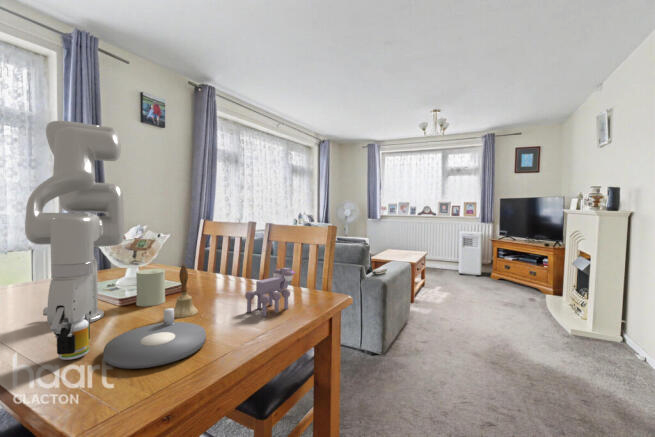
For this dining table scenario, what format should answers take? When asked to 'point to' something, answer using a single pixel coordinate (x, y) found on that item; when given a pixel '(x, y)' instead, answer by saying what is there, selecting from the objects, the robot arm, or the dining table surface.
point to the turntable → (155, 344)
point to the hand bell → (184, 298)
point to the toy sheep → (271, 290)
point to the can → (150, 287)
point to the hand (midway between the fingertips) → (74, 345)
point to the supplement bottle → (78, 339)
